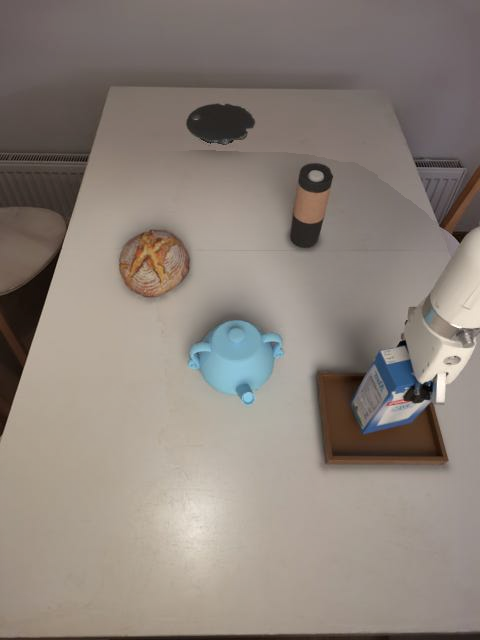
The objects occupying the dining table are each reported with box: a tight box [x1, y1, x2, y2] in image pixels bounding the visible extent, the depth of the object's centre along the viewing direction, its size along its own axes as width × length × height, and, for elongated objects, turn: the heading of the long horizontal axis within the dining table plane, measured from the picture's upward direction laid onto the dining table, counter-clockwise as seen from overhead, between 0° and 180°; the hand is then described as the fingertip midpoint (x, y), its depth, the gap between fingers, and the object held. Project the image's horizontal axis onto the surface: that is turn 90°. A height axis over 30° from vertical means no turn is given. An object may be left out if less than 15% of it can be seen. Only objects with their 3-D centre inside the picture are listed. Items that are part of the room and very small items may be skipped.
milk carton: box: [350, 345, 448, 434], centre depth 73 cm, size 10×6×20 cm, turn 103°
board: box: [185, 102, 256, 145], centre depth 135 cm, size 22×22×5 cm
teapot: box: [187, 319, 285, 407], centre depth 83 cm, size 20×20×13 cm
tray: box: [316, 371, 449, 466], centre depth 83 cm, size 22×18×3 cm
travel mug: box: [290, 162, 334, 249], centre depth 103 cm, size 8×8×20 cm
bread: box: [118, 229, 190, 298], centre depth 101 cm, size 16×20×10 cm
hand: (407, 376), depth 69 cm, fingers closed on milk carton, 7 cm apart
